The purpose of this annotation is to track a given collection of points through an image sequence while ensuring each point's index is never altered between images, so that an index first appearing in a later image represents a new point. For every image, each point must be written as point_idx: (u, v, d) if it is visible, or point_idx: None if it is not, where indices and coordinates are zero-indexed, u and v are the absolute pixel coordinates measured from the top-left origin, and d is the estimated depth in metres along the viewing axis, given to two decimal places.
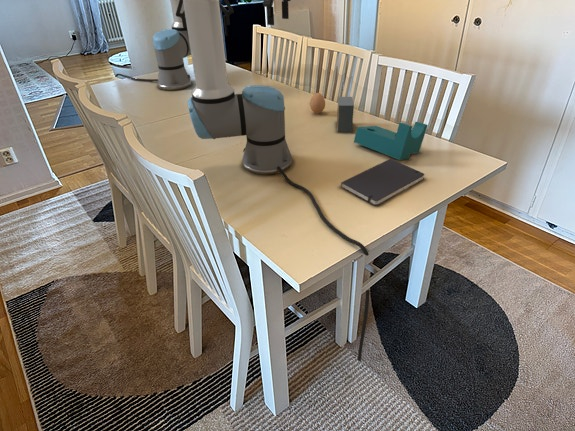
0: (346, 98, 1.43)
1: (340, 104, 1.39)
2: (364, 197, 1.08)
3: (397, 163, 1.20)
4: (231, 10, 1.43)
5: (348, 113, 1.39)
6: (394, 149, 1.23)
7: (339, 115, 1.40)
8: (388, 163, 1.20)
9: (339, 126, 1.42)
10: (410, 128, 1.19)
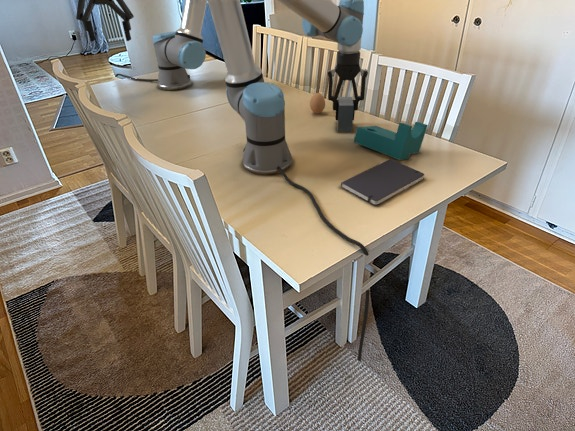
0: (346, 98, 1.43)
1: (340, 104, 1.39)
2: (364, 197, 1.08)
3: (397, 163, 1.20)
4: None
5: (348, 113, 1.39)
6: (394, 149, 1.23)
7: (339, 115, 1.40)
8: (388, 163, 1.20)
9: (339, 126, 1.42)
10: (410, 128, 1.19)
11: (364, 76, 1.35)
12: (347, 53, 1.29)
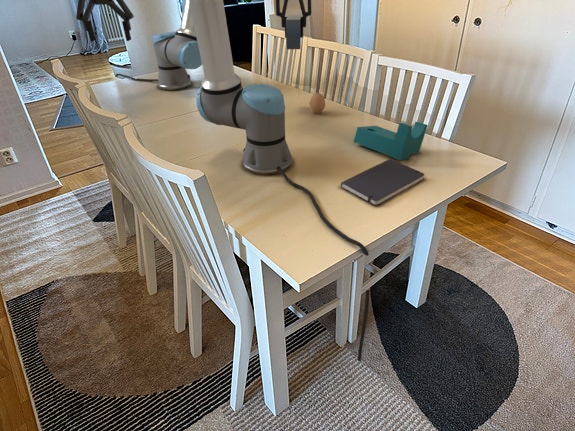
0: (295, 15, 1.46)
1: (287, 19, 1.41)
2: (364, 197, 1.08)
3: (397, 163, 1.20)
4: None
5: (295, 28, 1.42)
6: (394, 149, 1.23)
7: (287, 30, 1.43)
8: (388, 163, 1.20)
9: (288, 42, 1.45)
10: (410, 128, 1.19)
11: None
12: None
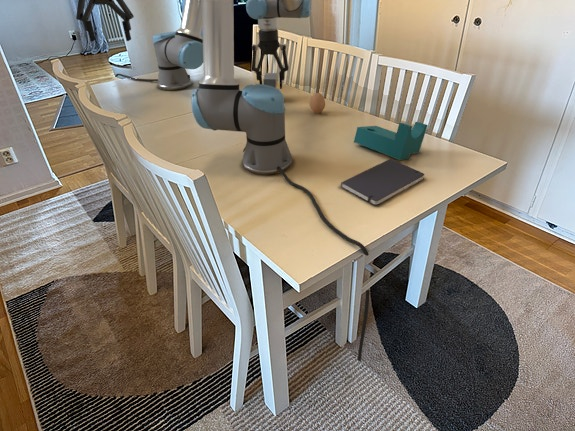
0: (271, 74, 1.69)
1: (264, 78, 1.64)
2: (364, 197, 1.08)
3: (397, 163, 1.20)
4: None
5: None
6: (394, 149, 1.23)
7: None
8: (388, 163, 1.20)
9: None
10: (410, 128, 1.19)
11: (283, 50, 1.59)
12: (265, 30, 1.54)
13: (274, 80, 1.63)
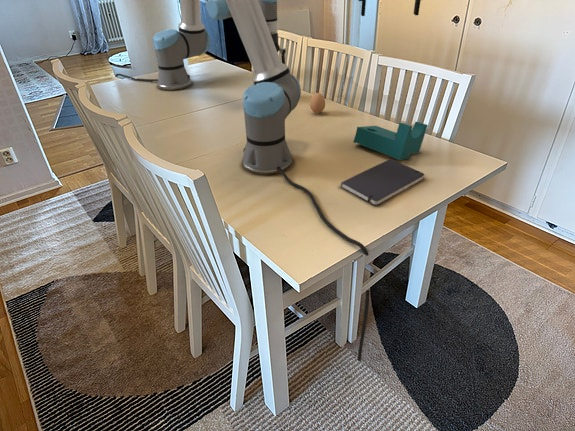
0: None
1: None
2: (364, 197, 1.08)
3: (397, 163, 1.20)
4: None
5: None
6: (394, 149, 1.23)
7: None
8: (388, 163, 1.20)
9: None
10: (410, 128, 1.19)
11: None
12: None
13: None
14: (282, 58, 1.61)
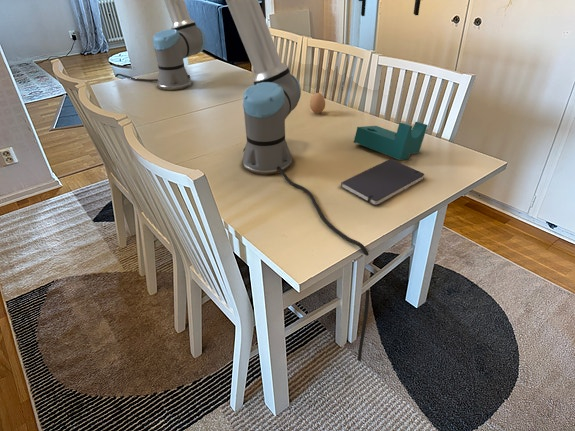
0: None
1: None
2: (364, 197, 1.08)
3: (397, 163, 1.20)
4: None
5: None
6: (394, 149, 1.23)
7: None
8: (388, 163, 1.20)
9: None
10: (410, 128, 1.19)
11: None
12: None
13: None
14: (262, 2, 1.62)
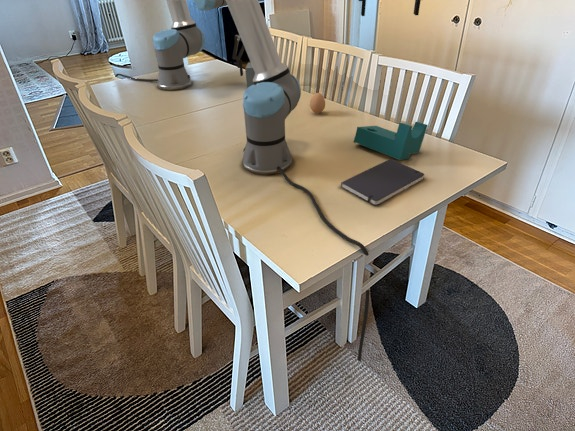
0: None
1: (246, 67, 1.78)
2: (364, 197, 1.08)
3: (397, 163, 1.20)
4: None
5: (253, 74, 1.78)
6: (394, 149, 1.23)
7: (246, 76, 1.79)
8: (388, 163, 1.20)
9: (247, 85, 1.81)
10: (410, 128, 1.19)
11: None
12: None
13: None
14: None
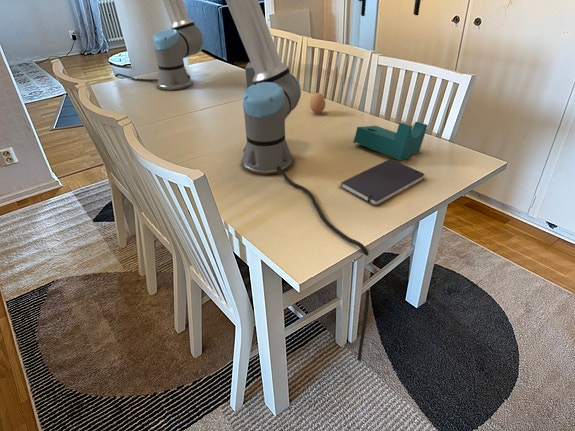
0: None
1: (246, 67, 1.78)
2: (364, 197, 1.08)
3: (397, 163, 1.20)
4: None
5: (253, 74, 1.78)
6: (394, 149, 1.23)
7: (246, 76, 1.79)
8: (388, 163, 1.20)
9: (247, 85, 1.81)
10: (410, 128, 1.19)
11: None
12: None
13: None
14: None
